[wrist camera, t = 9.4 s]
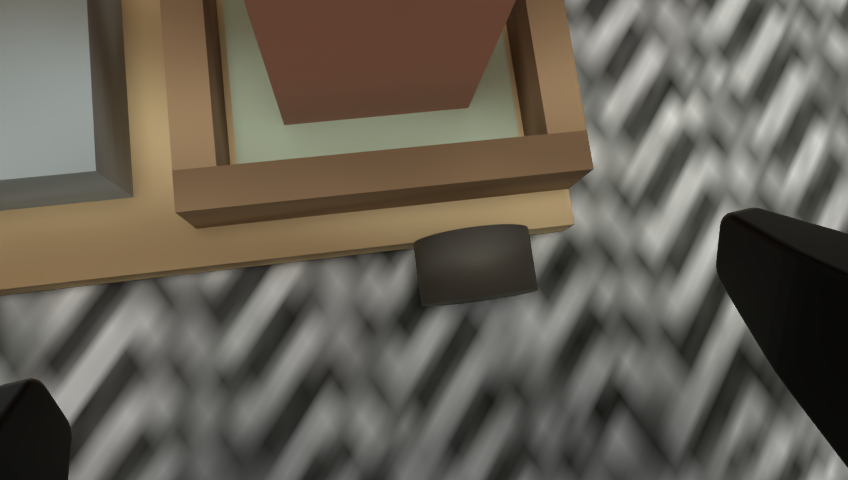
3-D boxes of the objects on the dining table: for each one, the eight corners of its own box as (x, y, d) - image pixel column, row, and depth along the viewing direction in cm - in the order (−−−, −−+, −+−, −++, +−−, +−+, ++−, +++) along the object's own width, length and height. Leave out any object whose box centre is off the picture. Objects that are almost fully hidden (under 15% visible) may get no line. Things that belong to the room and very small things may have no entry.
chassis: (572, 289, 19) (620, 274, 15) (-198, 385, 17) (-344, 394, 13) (493, -187, 21) (519, -291, 18) (-189, -160, 19) (-309, -274, 16)
